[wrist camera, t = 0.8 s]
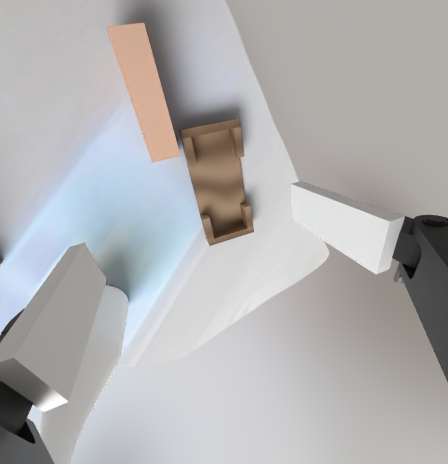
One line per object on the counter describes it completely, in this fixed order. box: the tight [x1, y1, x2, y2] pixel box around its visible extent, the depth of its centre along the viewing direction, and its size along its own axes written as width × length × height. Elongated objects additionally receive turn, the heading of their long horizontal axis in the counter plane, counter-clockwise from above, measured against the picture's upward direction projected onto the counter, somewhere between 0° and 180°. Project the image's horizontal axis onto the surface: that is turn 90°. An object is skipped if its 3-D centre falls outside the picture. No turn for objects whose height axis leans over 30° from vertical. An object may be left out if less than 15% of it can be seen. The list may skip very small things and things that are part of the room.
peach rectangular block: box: [106, 23, 181, 162], centre depth 27 cm, size 14×4×6 cm, turn 11°
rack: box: [179, 118, 254, 246], centre depth 37 cm, size 20×9×3 cm, turn 10°
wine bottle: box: [40, 285, 129, 464], centre depth 27 cm, size 10×10×30 cm
